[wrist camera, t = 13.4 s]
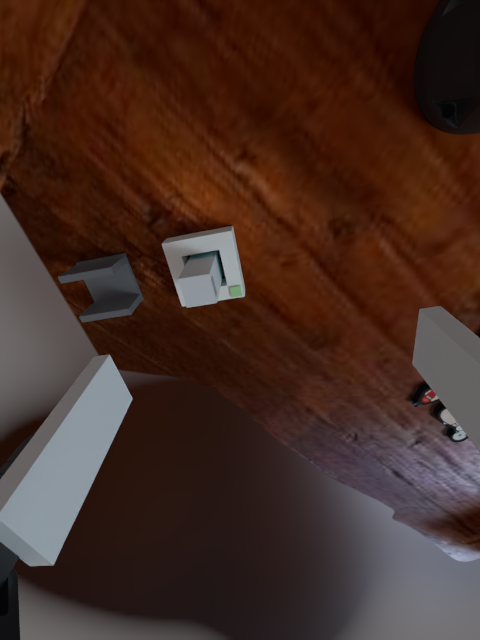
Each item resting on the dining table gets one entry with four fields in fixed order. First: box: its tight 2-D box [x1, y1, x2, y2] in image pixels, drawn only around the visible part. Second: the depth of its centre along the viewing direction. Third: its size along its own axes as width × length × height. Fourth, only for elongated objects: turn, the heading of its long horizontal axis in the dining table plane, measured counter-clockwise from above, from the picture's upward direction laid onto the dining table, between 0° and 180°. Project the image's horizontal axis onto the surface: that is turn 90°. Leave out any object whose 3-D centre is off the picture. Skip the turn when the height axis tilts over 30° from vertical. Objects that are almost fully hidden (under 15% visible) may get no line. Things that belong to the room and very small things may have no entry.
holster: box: [58, 253, 144, 322], centre depth 44 cm, size 8×8×6 cm
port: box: [162, 226, 245, 306], centre depth 43 cm, size 10×10×3 cm
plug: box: [178, 250, 223, 308], centre depth 40 cm, size 4×4×10 cm
